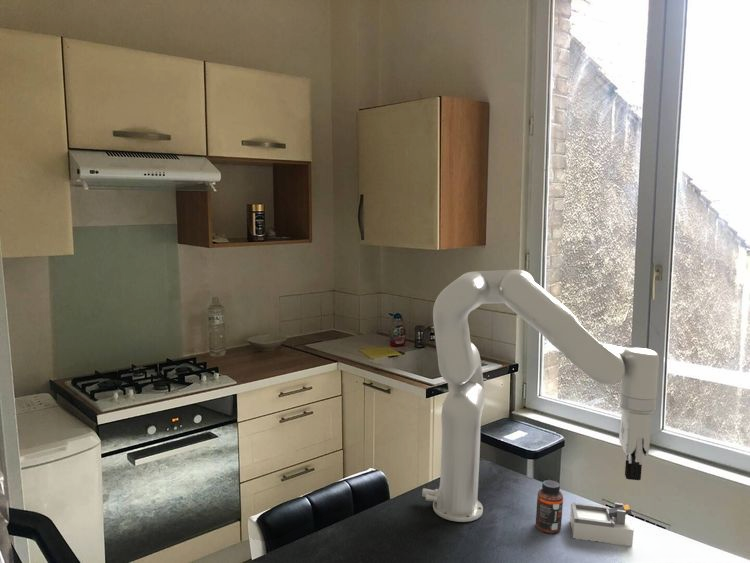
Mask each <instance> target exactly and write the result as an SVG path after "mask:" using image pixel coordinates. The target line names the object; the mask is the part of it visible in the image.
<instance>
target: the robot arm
mask: <svg viewBox="0 0 750 563" xmlns="http://www.w3.org/2000/svg"><path fill="white" fill-rule="evenodd" d="M483 304H484V305H487V304H504V305H505V306H507V307H508V308H509V309H510V310H511V311H513V312H514V313H515V314H516V315H517V316H519V317H520V319H522V320H524V321H525V322H526V323H527V324H528V325H530V326H531V327H532V328H534V329H535V330H536V331H537V332H539V334H541V335H542V336H543V337H544V339H546V340H547V341H548V342H549V343H550V344H551V345H552V346H553V347H555V349H557V350H558V351H559V352H560V353H561V354H562V355H563V356H564V357H565V358H566V359H568V361H569V362H571V363H572V365H574V366H575V367H576V368H578V369H579V370H580V371H581V372H583V373H584V374H585V375H586V376H587V377H588V378H590V379H592V380H593V381H594V382H596V383H597V384H600V385H603V386H615V385H617V384H618V383H619V382H620V381H621V386H620V401H619V407H620V409H622V410H621V419H620V427H619V436H618V440H619V444H620V446H621V448H622V449H623V452H624V453H625V456H626V460H625V466H624V476H625V478H626V480H629V481H630V480H632V481H641V480H642V466H643V455H644V456H645V457H647V456H648V455H649V452H650V451H649V450H650V441H651V439H650V438H651V423H652V422H651V414H654V413H655V412H656V408H657V407H656V406H657V393H658V378H659V366H660V365H659V364H660V363H659V362H660V357H659V354H658V353H657V352H656V351H655V350H652V349H650V348H643V347H623V346H618V345H614V344H609V343H601V341H599V340H598V339H596V338H595V337H594V336H593V335H592V334H591V333H590V332H589V331H587V329H586V328H585V327H584V326H583V325H582V324H581V322H579V320H578V318H577V317H576V316H575V315H574V314H573V312H572V311H571V310H570V309H569V308H568V307H567V306H565V305H564V304H563V303H562V302H561V301H559V300H558V299H556V298H555V297H554V296H553V295H551V294H550V293H549V292H548V291H547V290H545V289H544V288H543V287H542V286H540V285H539V284H538V283H537V282H535V278H534V277H533V276H532V275H531V273H529V272H527V271H526V270H523V269H503V270H502V269H501V270H500V269H499V270H477V271H469V272H465V273H464V274H462V275H460V276H459V277H457V278H456V279H455V280H453V281H452V282H450V284H448V285H447V286H445V287H444V289H442V290H441V291H440V293H439V294H438V296H437V297H436V299H435V301H434V305H433V308H432V309H433V310H432V319H433V329H434V337H435V347H436V348H435V349H436V354H437V362H438V370H439V374H440V375H441V376H440V377H441V378H442V379H443V381H445V382H446V383H447V387H448V393H447V394H446V396H445V398H444V400H443V402H442V407H441V413H440V414H441V415H440V416H441V418H440V419H441V448H440V449H441V455H440V456H441V457H440V476H439V478H440V479H439V488H435V489H429V488H422V492H421V494H422V495H421V496H422V497H425V501H429V502H430V501H431V502H433V503H432V508H433V511H434V512H435V514H436V515H437V516H439V517H441V518H442V519H445V520H448V521H452V522H458V523H467V522H468V523H469V522H472V521H475V520H478V519H479V518H481V517H482V516H483V513H484V506H483V504H482V503H481V502H480V501H479V500H478V494H479V493H478V492H479V475H480V473H479V472H480V454H481V452H480V451H481V448H480V447H481V422H482V413H483V410H484V407H485V403H486V389H485V382H484V381H485V380H484V375H483V367H482V360H481V356H480V351H479V349H478V348H477V346H475V344H474V343H473V342H472V341H471V333H470V325H469V322H468V317H469V315H470V314H471V312H472V311H474V310H476V309H478V308H479V307H480V306H481V305H483Z"/></svg>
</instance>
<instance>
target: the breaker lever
mask: <svg viewBox="0 0 750 563" xmlns="http://www.w3.org/2000/svg"><path fill="white" fill-rule="evenodd" d="M608 510H609V514H610V517H615V516H617V510H624V511H626V515H628V516H629V515H632V514H633V513H632V510H631V507H630V505H629V504H623V506H622V507H615V508H614V507H611V508H610V507H609V509H608Z"/></svg>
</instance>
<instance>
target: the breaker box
mask: <svg viewBox="0 0 750 563" xmlns="http://www.w3.org/2000/svg"><path fill="white" fill-rule="evenodd" d="M613 504H614V507H613V508H615V507H622V506H623V505H624V504H623V503H621V502H614V503H613ZM609 508H610V506H606V505H605V506H604V505H597V504H596V505H595V504H588V503H581V502H571V504H570V517H569V523H571V524H570V527H571V528H570V529H571V533H572V538H576V539H575V540H580V539H582V540H583V541H588V540H590V542H595V541H598V542H597V543H603V542H604V543H605V544H609V545H611V544H612V545H619V546H626V547H633V544H634V543H633V541H634V531H635V530H634V528H633V525H632V523H631V520H630V517H629V514H628V515H626V511H624V510H617V516H615V517H610V514H609V510H608V509H609ZM582 540H581V541H582Z"/></svg>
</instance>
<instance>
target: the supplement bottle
mask: <svg viewBox="0 0 750 563" xmlns="http://www.w3.org/2000/svg"><path fill="white" fill-rule="evenodd" d="M560 486H561V485H560V483H558V481H555V480H551V479H548V480H544V481H542V486H541V487H542V488H540V489H539V490H538V491H537V498H536V512H535V527H536V528H537V529H538V530H540V531H541V532H544V533H547V534H556V533H558V532H560V531H561V528H562V519H563V518H562V516H563V507H564V506H563V504H564V495H563V493H562V492H561V491H560V489H561V488H560Z"/></svg>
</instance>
